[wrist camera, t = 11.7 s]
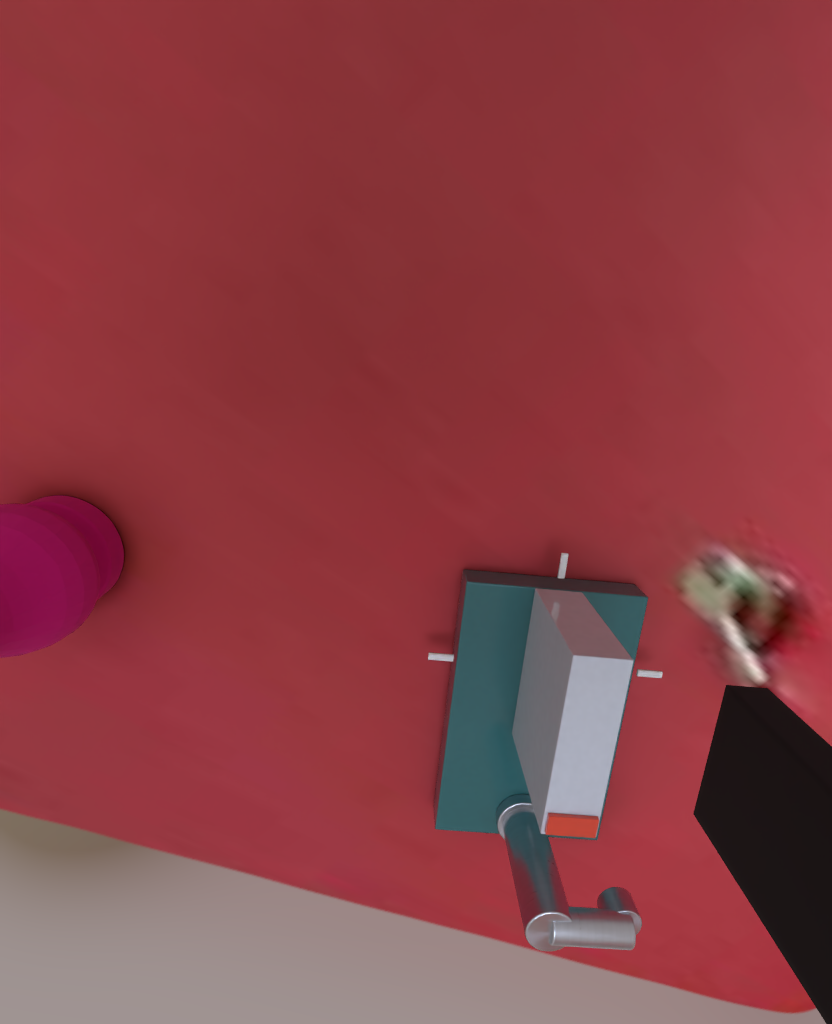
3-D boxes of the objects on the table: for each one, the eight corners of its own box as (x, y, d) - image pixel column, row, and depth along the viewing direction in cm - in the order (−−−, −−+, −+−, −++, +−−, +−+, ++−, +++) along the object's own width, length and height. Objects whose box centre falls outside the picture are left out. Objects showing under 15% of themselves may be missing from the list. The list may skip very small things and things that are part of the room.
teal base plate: (438, 531, 33) (441, 542, 31) (669, 551, 34) (687, 564, 32) (408, 803, 38) (408, 830, 36) (612, 818, 39) (624, 844, 36)
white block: (535, 587, 32) (574, 657, 25) (582, 592, 32) (636, 663, 25) (511, 733, 34) (541, 838, 27) (556, 737, 35) (598, 842, 27)
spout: (492, 833, 36) (516, 963, 28) (498, 791, 35) (525, 913, 28) (593, 840, 36) (644, 970, 29) (601, 799, 36) (656, 921, 28)
